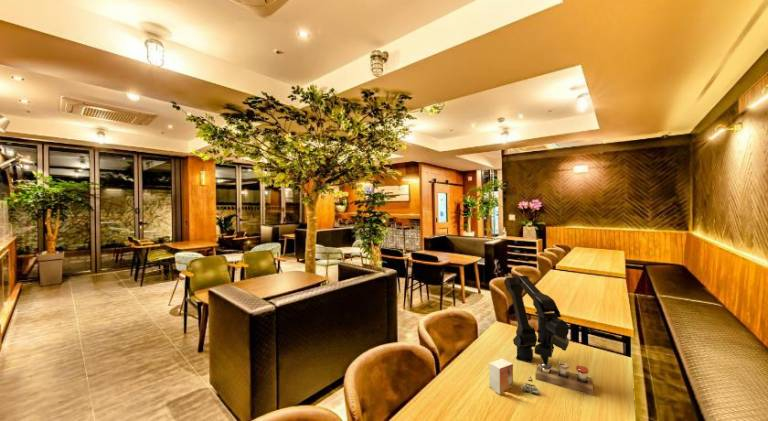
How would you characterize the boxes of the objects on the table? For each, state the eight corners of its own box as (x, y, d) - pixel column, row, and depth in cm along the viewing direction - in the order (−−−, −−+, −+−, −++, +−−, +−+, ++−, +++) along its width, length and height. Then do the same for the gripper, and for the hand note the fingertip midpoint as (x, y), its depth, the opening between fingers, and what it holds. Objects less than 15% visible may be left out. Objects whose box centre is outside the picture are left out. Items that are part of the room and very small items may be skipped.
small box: (499, 395, 118) (499, 368, 118) (488, 387, 123) (488, 362, 123) (513, 389, 121) (513, 363, 121) (502, 382, 126) (502, 357, 126)
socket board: (535, 382, 126) (535, 373, 126) (538, 372, 133) (538, 363, 133) (592, 399, 115) (592, 388, 115) (592, 387, 122) (592, 377, 122)
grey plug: (540, 377, 127) (540, 364, 127) (541, 373, 130) (541, 360, 130) (550, 380, 125) (550, 367, 125) (551, 376, 128) (551, 363, 128)
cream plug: (557, 377, 124) (557, 364, 123) (558, 373, 127) (558, 360, 127) (568, 380, 121) (568, 366, 121) (569, 376, 125) (569, 362, 124)
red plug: (576, 382, 120) (576, 368, 120) (576, 378, 123) (576, 364, 123) (588, 386, 118) (588, 371, 117) (588, 381, 121) (588, 367, 121)
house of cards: (545, 390, 121) (544, 371, 121) (545, 402, 113) (545, 383, 113) (520, 384, 125) (520, 366, 125) (519, 396, 117) (519, 377, 117)
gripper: (565, 340, 115) (566, 380, 116) (568, 324, 131) (569, 359, 131) (534, 333, 122) (534, 371, 122) (540, 319, 137) (540, 353, 137)
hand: (545, 363), depth 128 cm, fingers closed, pressing on grey plug
